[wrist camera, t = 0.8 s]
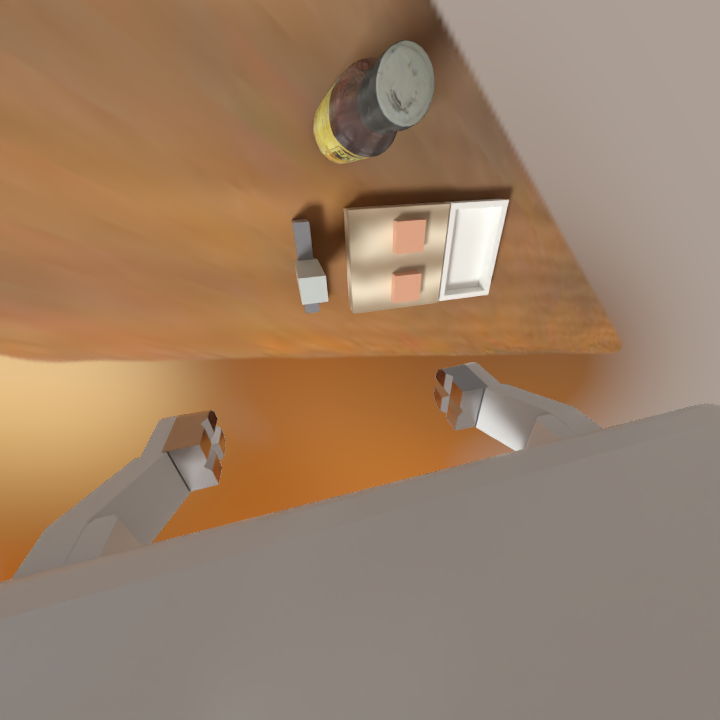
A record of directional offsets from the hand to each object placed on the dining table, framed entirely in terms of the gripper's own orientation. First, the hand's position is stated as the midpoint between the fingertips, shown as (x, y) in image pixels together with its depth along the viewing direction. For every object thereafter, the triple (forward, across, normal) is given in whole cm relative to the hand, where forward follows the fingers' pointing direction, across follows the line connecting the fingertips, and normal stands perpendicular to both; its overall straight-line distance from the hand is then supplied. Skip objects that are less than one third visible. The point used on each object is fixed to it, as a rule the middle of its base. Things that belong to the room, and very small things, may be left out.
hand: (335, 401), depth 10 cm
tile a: (+31, -16, 0) cm, 35 cm away
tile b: (+31, -16, +6) cm, 36 cm away
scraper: (+34, -2, +3) cm, 35 cm away
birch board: (+34, -14, +3) cm, 37 cm away
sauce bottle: (+34, -8, -12) cm, 37 cm away
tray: (+34, -26, +3) cm, 43 cm away
